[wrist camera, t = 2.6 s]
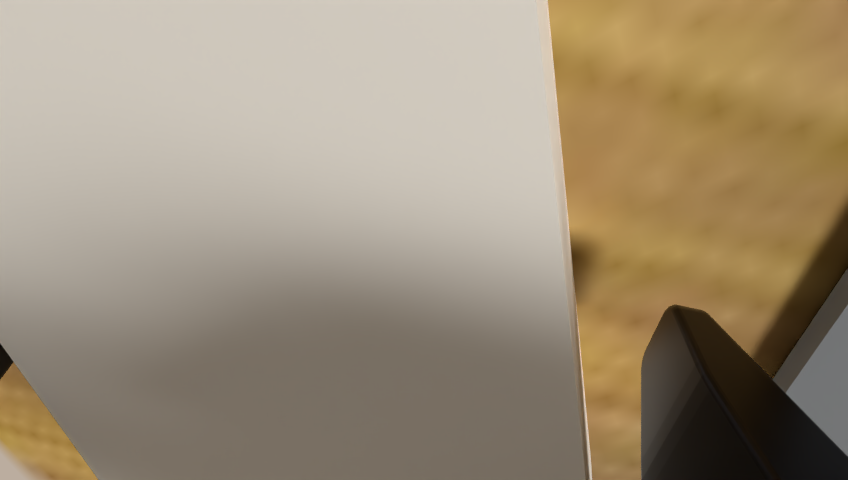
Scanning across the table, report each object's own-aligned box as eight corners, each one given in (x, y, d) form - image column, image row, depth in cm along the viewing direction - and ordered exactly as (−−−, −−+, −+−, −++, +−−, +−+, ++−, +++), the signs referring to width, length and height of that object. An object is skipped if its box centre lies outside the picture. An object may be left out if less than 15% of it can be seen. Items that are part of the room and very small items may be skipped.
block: (589, 442, 12) (608, 703, 8) (318, 446, 13) (241, 678, 9) (522, -271, 6) (501, -326, 3) (63, -155, 7) (-321, -101, 4)
